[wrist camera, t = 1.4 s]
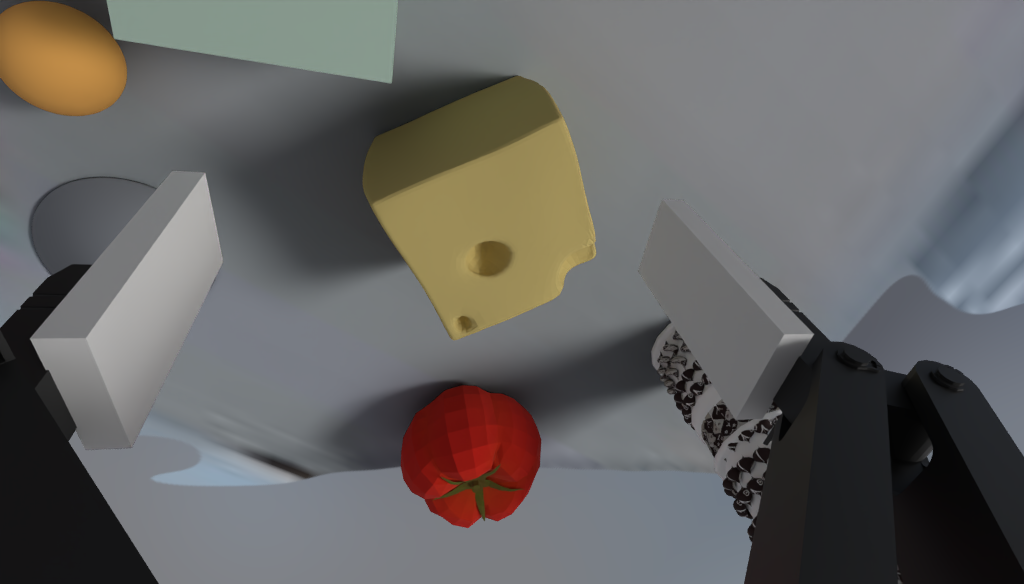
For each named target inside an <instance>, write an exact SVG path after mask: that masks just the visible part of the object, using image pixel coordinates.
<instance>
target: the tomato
mask: <svg viewBox="0 0 1024 584" xmlns="http://www.w3.org/2000/svg"><path fill="white" fill-rule="evenodd" d="M540 452H541V438H540V435H539V432H538V429H537V426H536V424H535V422H534V420H533V418H532V416H531V414H530V413H529V412H528V411H527V410H526V409H525V408H524V407H523V406H522V405H520V404H519V403H518V402H517V401H516V400H515V399H513V398H511V397H509V396H506V395H504V394H500V393H489V392H486V391H484V390H483V389H481V388H479V387H477V386H468V385H461V386H458V387H454V388H450V389H447V390H445V391H444V392H442V393H441V394H440V395H439V396H438V397H437V398H436V399H435V400H433V401H432V402H431V403H430V404H429V405H427V406H426V407H424V408H423V409H422V410H420V411H419V412H417V413H416V414H415V416H414V418H413V420H412V422H411V424H410V426H409V427H408V429H407V431H406V433H405V435H404V437H403V444H402V451H401V469H402V473H403V479H404V481H405V482H406V484H407V486H408V487H409V489H410V490H411V492H412V493H414V494H416V495H418V496H420V497H422V498H424V499H425V502H426V504H427V505H428V507H429V509H430V511H431V512H433V513H435V514H437V515H439V516H441V517H443V518H444V519H446V520H447V521H448V522H450V523H451V524H452V525H456V526H461V527H466V528H469V527H470V526H471V525H472V524H473V523H475V522H476V521H477V520H478V519H479V518H481V517H482V518H483V519H484V521H485V517H486V518H489V519H492V520H495V521H499V520H501V519H503V518H505V517H507V516H509V515H511V514H512V513H513V512H514V511H515V509H516V508H517V507H518V506H519V505H520V504H521V502H522V501H523V500H524V498H525V497H526V495H527V494H528V492H529V490H530V488H531V485H532V483H533V480H534V478H535V475H536V473H537V471H538V469H539V467H540Z"/></svg>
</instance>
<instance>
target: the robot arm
mask: <svg viewBox="0 0 1024 584" xmlns="http://www.w3.org/2000/svg"><path fill="white" fill-rule="evenodd" d="M222 263H223V258H222V253H221V248H220V243H219V238H218V233H217V228H216V223H215V218H214V213H213V209H212V204H211V199H210V194H209V189H208V184H207V179H206V174H205V172H188V171H172V172H171V173H170V174H169V175H168V176H167V178H166V179H165V180H164V181H163V182H162V183H161V185H160V186H159V187H158V188H157V189H156V191H155V192H154V193H153V194H152V195H151V196H150V198H149V199H148V200H147V201H146V202H145V204H144V205H143V206H142V207H141V208H140V209H139V211H138V212H137V213H136V214H135V215H134V216H133V218H132V219H131V220H130V221H129V222H128V224H127V225H126V226H125V227H124V228H123V229H122V231H121V232H120V233H119V234H118V235H117V237H116V238H115V239H114V240H113V241H112V242H111V244H110V245H109V246H108V247H107V248H106V249H105V251H104V252H103V253H102V254H101V255H100V257H99V258H98V259H97V260H96V261H95V262H94V264H93V265H89V264H71V265H69V266H68V267H66V268H64V269H62V270H60V271H59V272H57V273H55V274H53V275H51V276H50V277H48V278H47V279H46V280H45V281H44V282H43V283H42V284H41V285H40V286H39V287H38V288H37V289H36V291H35V292H34V293H33V297H29V298H28V299H27V300H26V301H25V302H24V303H23V304H22V305H21V306H20V307H21V309H20V310H17V311H16V312H15V313H14V314H13V315H12V316H11V317H10V318H9V319H8V320H7V321H6V322H5V323H4V325H3V326H2V327H1V328H0V584H158V582H157V580H156V579H155V577H154V576H153V574H152V573H151V571H150V569H149V568H148V566H147V565H146V563H145V562H144V560H143V558H142V557H141V555H140V554H139V552H138V550H137V549H136V547H135V546H134V544H133V543H132V541H131V540H130V538H129V536H128V535H127V533H126V532H125V530H124V528H123V527H122V525H121V524H120V522H119V521H118V519H117V518H116V516H115V514H114V513H113V511H112V510H111V508H110V506H109V505H108V504H107V502H106V500H105V499H104V497H103V495H102V494H101V492H100V491H99V489H98V488H97V486H96V485H95V483H94V481H93V480H92V478H91V477H90V475H89V473H88V472H87V470H86V469H85V467H84V466H83V464H82V462H81V461H80V459H79V458H78V456H77V454H76V453H75V451H74V450H73V448H72V447H71V445H70V443H69V442H68V441H69V440H70V438H71V436H72V435H73V433H74V432H75V430H76V432H77V434H78V436H79V438H80V440H81V442H82V444H83V446H84V448H85V450H99V449H122V448H132V446H133V445H134V443H135V441H136V438H137V437H138V435H139V433H140V430H141V428H142V426H143V424H144V422H145V420H146V418H147V416H148V414H149V412H150V410H151V408H152V406H153V404H154V402H155V400H156V398H157V396H158V394H159V392H160V390H161V388H162V386H163V383H164V381H165V379H166V377H167V375H168V373H169V371H170V369H171V367H172V365H173V363H174V361H175V359H176V357H177V355H178V353H179V351H180V349H181V347H182V345H183V343H184V341H185V339H186V336H187V334H188V332H189V330H190V328H191V326H192V324H193V322H194V320H195V318H196V316H197V314H198V312H199V310H200V308H201V306H202V304H203V302H204V300H205V298H206V296H207V294H208V292H209V289H210V287H211V285H212V283H213V281H214V279H215V277H216V275H217V273H218V271H219V269H220V267H221V265H222ZM638 272H639V274H640V275H641V277H642V278H643V280H644V281H645V283H646V284H647V286H648V287H649V289H650V290H651V292H652V293H653V295H654V296H655V298H656V299H657V301H658V302H659V304H660V306H661V307H662V309H663V310H664V312H665V313H666V315H667V316H668V318H669V319H670V321H671V322H672V324H673V325H674V327H675V328H676V330H677V331H678V333H679V334H680V336H681V337H682V339H683V341H684V342H685V344H686V345H687V347H688V348H689V350H690V351H691V353H692V354H693V356H694V357H695V359H696V360H697V362H698V363H699V365H700V366H701V368H702V369H703V371H704V372H705V374H706V375H707V377H708V379H709V380H710V382H711V383H712V385H713V386H714V388H715V389H716V391H717V392H718V394H719V395H720V397H721V398H722V400H723V401H724V403H725V404H726V406H727V407H728V409H729V410H730V412H731V414H732V415H733V417H734V418H735V420H745V419H763V417H764V416H765V414H766V412H767V411H768V409H769V407H770V406H771V404H772V403H773V401H774V402H775V403H776V405H777V406H778V407H779V409H780V410H781V411H782V414H781V415H780V417H779V419H778V420H777V422H776V423H775V425H774V426H773V428H772V430H771V431H770V433H769V434H768V436H767V437H766V439H765V441H764V442H763V444H764V445H766V446H767V445H768V444H769V443H770V441H772V444H771V449H770V454H769V459H768V464H767V469H766V475H765V480H764V485H763V490H762V495H761V500H760V505H759V510H758V515H757V520H756V526H755V531H754V536H753V541H752V546H751V551H750V556H749V562H748V566H747V572H746V577H745V582H744V584H898V575H897V565H898V568H899V571H900V574H901V577H902V580H903V583H904V584H1024V456H1023V455H1022V453H1021V452H1020V450H1019V449H1018V447H1017V446H1016V444H1015V443H1014V441H1013V440H1012V438H1011V437H1010V435H1009V434H1008V432H1007V431H1006V429H1005V428H1004V426H1003V425H1002V423H1001V422H1000V420H999V419H998V417H997V415H996V414H995V412H994V411H993V409H992V408H991V406H990V405H989V403H988V402H987V400H986V399H985V397H984V396H983V394H982V393H981V391H980V390H979V388H978V387H977V386H976V385H975V384H974V383H973V382H972V381H971V380H970V379H969V378H967V377H966V376H964V375H963V373H962V372H960V371H958V370H957V369H954V368H953V367H951V366H949V365H943V364H941V363H938V362H934V361H928V360H924V361H918V362H917V364H916V365H915V366H914V367H913V368H912V370H911V371H910V372H909V373H908V375H905V374H900V373H896V372H891V371H887V370H884V369H883V367H882V365H881V364H880V363H879V362H878V361H877V360H876V358H874V357H873V356H871V355H870V354H868V353H867V352H866V351H864V350H862V349H860V348H858V347H856V346H854V345H850V344H847V343H844V342H831V341H830V340H829V339H828V338H827V337H826V336H825V335H824V334H823V333H822V332H821V331H820V330H819V329H818V328H817V327H816V326H815V325H814V324H813V323H812V322H811V321H810V320H809V319H808V318H807V317H806V316H805V315H804V314H803V313H802V312H799V309H798V308H797V307H796V306H795V305H794V304H793V303H790V302H789V301H790V300H789V299H788V298H787V297H786V296H785V295H784V294H783V293H782V292H781V291H780V290H779V289H778V288H776V287H775V286H773V285H772V284H770V283H769V282H767V281H765V280H764V279H762V278H759V277H758V276H757V275H756V274H755V273H754V272H753V271H752V270H751V269H750V268H749V267H748V266H747V265H746V264H745V263H744V262H743V261H742V260H741V258H740V257H739V256H738V255H737V254H736V253H735V252H734V251H733V250H732V249H731V248H730V247H729V246H728V245H727V244H726V243H725V242H724V241H723V240H722V239H721V238H720V237H719V236H718V235H717V234H716V233H715V232H714V231H713V230H712V229H711V228H710V227H709V226H708V225H707V223H706V222H705V221H704V220H703V219H702V218H701V217H700V216H699V215H698V214H697V213H696V212H695V211H694V210H693V209H692V208H691V207H690V206H689V205H688V204H687V203H686V202H685V201H684V200H673V199H662V201H661V204H660V207H659V210H658V213H657V216H656V219H655V222H654V225H653V228H652V231H651V234H650V237H649V240H648V243H647V246H646V249H645V252H644V255H643V258H642V261H641V264H640V267H639V270H638ZM932 450H933V455H932V459H931V461H930V463H929V461H928V458H927V456H928V455H929V453H930V452H931V451H932Z"/></svg>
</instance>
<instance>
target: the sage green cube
mask: <svg viewBox="0 0 1024 584" xmlns="http://www.w3.org/2000/svg"><path fill="white" fill-rule="evenodd" d="M107 5H108V10H109V16H110V21H111V26H112V31H113V36H114V39H118V40H124V41H130V42H136V43H142V44H149V45H155V46H161V47H167V48H174V49H180V50H186V51H192V52H198V53H205V54H211V55H217V56H223V57H230V58H236V59H242V60H248V61H255V62H261V63H267V64H273V65H279V66H286V67H292V68H298V69H304V70H311V71H317V72H323V73H329V74H335V75H342V76H348V77H354V78H360V79H367V80H373V81H379V82H385V83H392V75H393V61H394V48H395V34H396V21H397V7H398V0H107Z"/></svg>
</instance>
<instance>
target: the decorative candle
mask: <svg viewBox="0 0 1024 584" xmlns="http://www.w3.org/2000/svg"><path fill="white" fill-rule="evenodd" d="M651 357H652V364H653V366H654V367H655V369H656V370H657V373H658V374H660V375H661V377H660V380H661V381H663V382H664V385H665V386H666V387H668V389H667V392H668V393H669V394H675V395H674V400H675V402H676V406H677V408H678V409H679V410H682V414H683V416H684V420H685V422H686V423H687V424H689V425H691V427H692V428H693V429H694V430H696V432H697V434H698V435H699V437H700V438H701V440H702V441H703V442H704V443H705V445H707V446H708V448H709V449H710V451H711V453H712V455H713V456H714V458H715V465H714V469H715V471H716V473H717V474H718V475H719V476H720V478H721V479H722V480H723V487H724V488H725V489H724V491H725V493H726V494H727V495H728V496H732V497H733V498H735V499H736V500H735V501H734V504H733V506H734V509H735V510H736V512H737V513H738V515H739V516H741V517H747V518H750V519H753V521H752V524H751V525H750V526H749V528H748V532H747V533H748V535H749V538H750V540H751V541H753V536H754V531H755V526H756V520H757V515H758V510H759V505H760V500H761V495H762V490H763V485H764V480H765V475H766V469H767V464H768V459H769V454H770V449H771V444H772V441H770V443H769V444H768V445H767V446H766V445H764V444H763V442H764V441H765V439H766V437H767V436H768V434H769V433H770V431H771V430H772V428H773V426H774V425H775V423H776V422H777V420H778V419H779V417H780V415H781V414H782V411H781V410H780V409H779V407H778V406H777V405H776V403H775V402H774V401H773V403H772V404H771V406H770V407H769V409H768V411H767V412H766V414H765V416H764V417H763V419H745V420H735V418H734V417H733V415H732V414H731V412H730V410H729V409H728V407H727V406H726V404H725V403H724V401H723V400H722V398H721V397H720V395H719V394H718V392H717V391H716V389H715V388H714V386H713V385H712V383H711V382H710V380H709V379H708V377H707V375H706V374H705V372H704V371H703V369H702V368H701V366H700V365H699V363H698V362H697V360H696V359H695V357H694V356H693V354H692V353H691V351H690V350H689V348H688V347H687V345H686V344H685V342H684V341H683V339H682V337H681V336H680V334H679V333H678V331H677V330H676V328H675V327H674V325H673V324H672V322H671V323H670V324H668V326H667V327H666V328H665V329H664V330H663V331H662V332H661V333H660V334H659V335H658V337H657V338H656V341H655V343H654V345H653V348H652V350H651ZM676 392H677V393H676ZM897 575H898V584H904V583H903V580H902V577H901V574H900V571H899V568H898V565H897Z"/></svg>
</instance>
